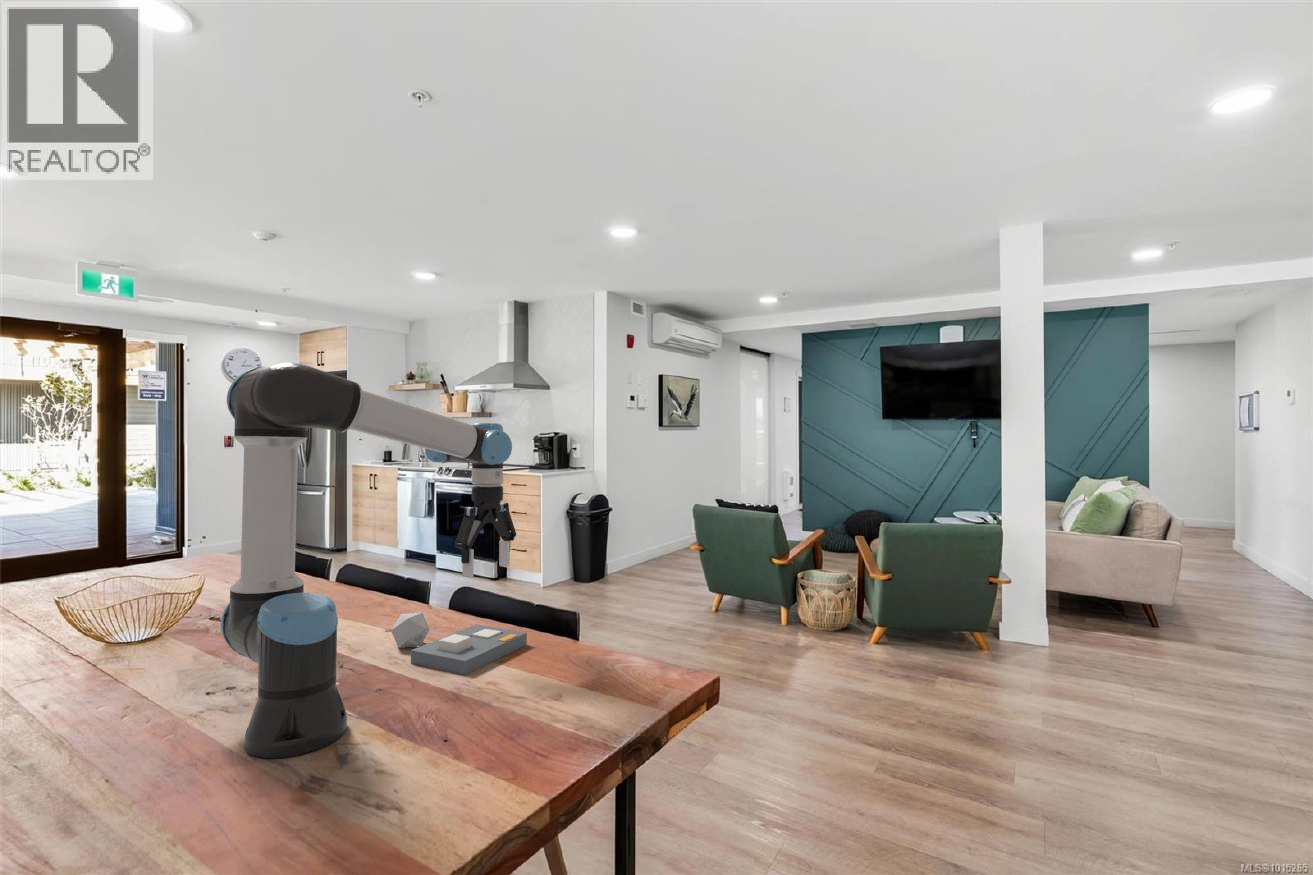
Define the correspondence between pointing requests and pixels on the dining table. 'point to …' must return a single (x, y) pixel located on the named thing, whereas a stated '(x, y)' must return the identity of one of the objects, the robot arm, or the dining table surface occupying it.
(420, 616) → the die
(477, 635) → the tagged button
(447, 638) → the button
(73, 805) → the dining table surface
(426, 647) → the breaker panel
